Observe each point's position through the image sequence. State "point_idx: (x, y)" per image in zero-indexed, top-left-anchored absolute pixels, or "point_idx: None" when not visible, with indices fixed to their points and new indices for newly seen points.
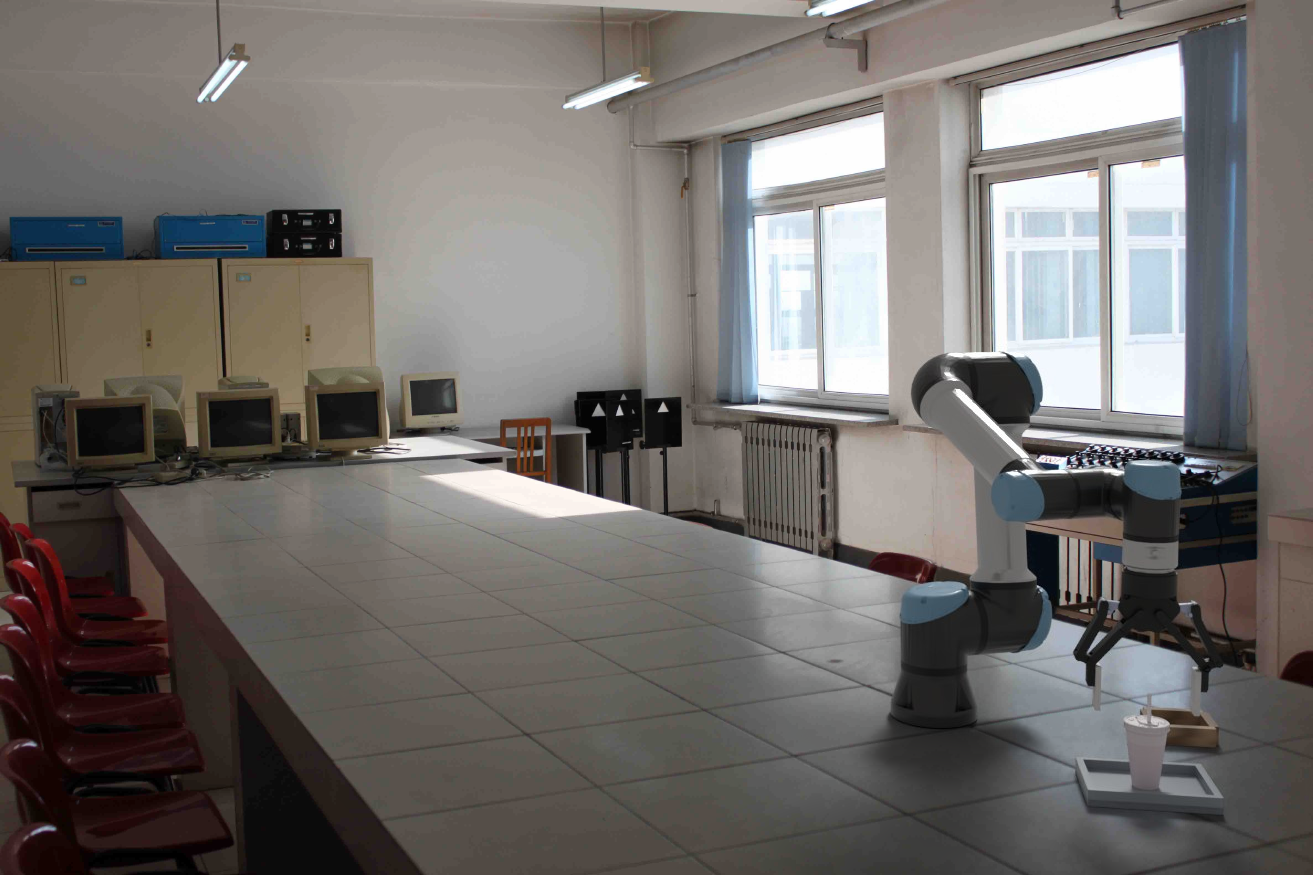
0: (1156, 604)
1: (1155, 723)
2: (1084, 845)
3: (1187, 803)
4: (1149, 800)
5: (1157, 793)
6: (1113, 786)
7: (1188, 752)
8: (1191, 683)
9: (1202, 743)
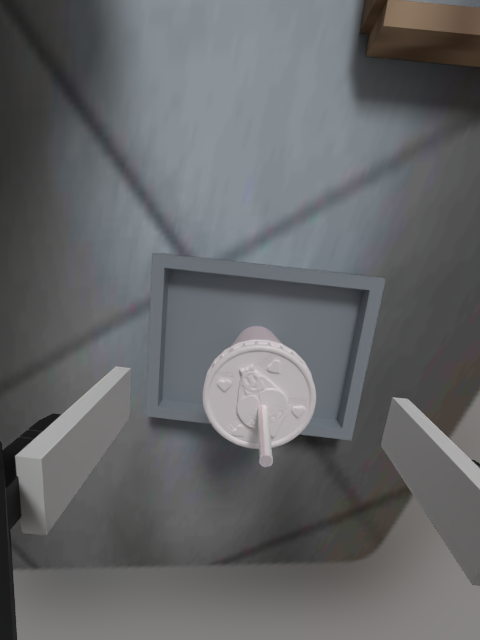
0: None
1: (273, 425)
2: (127, 521)
3: None
4: None
5: None
6: (202, 353)
7: (417, 113)
8: (442, 459)
9: (472, 61)
